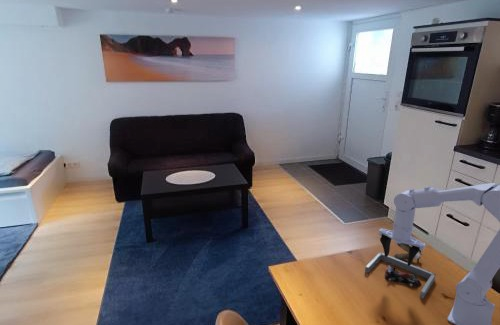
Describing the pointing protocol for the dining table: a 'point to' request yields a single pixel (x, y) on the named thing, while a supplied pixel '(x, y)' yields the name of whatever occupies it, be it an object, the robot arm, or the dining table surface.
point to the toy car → (401, 277)
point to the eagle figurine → (406, 248)
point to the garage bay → (404, 265)
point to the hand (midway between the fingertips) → (397, 259)
